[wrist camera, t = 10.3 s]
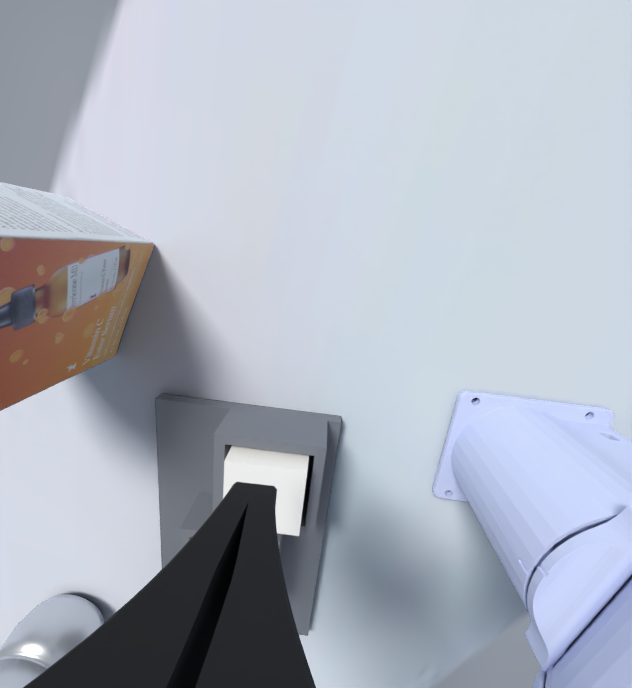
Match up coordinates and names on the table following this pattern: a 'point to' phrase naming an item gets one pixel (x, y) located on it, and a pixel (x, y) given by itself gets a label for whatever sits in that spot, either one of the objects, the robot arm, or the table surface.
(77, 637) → the plastic bottle
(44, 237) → the small box
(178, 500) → the panel
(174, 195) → the table surface
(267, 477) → the ivory key
